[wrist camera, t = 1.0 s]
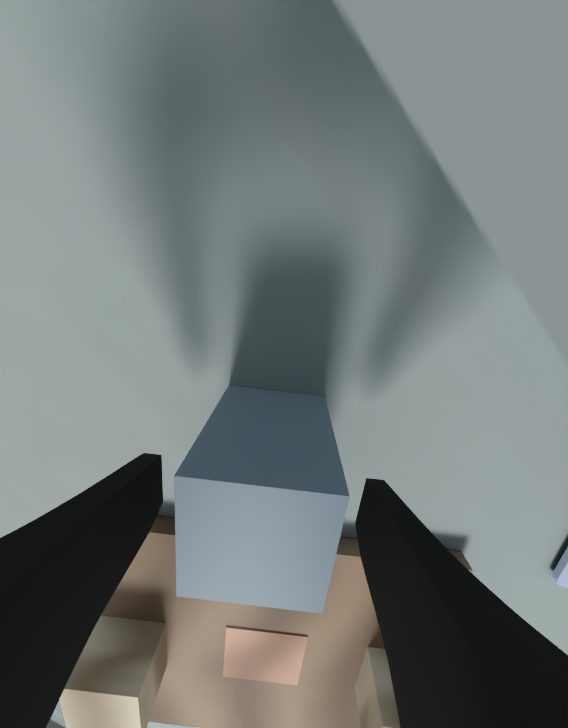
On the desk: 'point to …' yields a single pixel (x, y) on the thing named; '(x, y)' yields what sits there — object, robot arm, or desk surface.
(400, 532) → the robot arm
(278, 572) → the slate block
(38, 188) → the desk surface
